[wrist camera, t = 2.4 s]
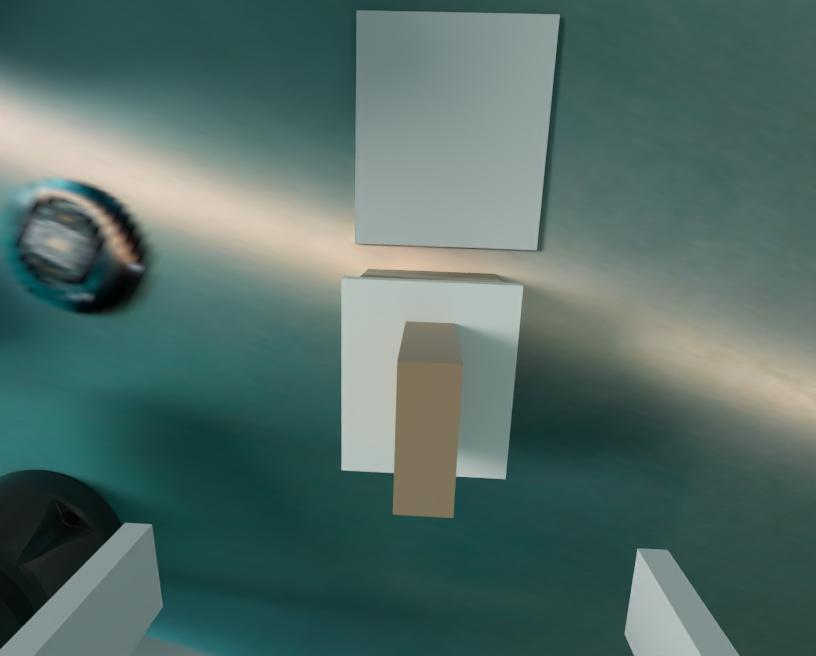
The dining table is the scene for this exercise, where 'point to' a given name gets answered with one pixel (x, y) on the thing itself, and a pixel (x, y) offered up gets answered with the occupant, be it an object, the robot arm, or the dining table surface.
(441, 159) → the tray
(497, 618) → the dining table surface
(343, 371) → the lid
